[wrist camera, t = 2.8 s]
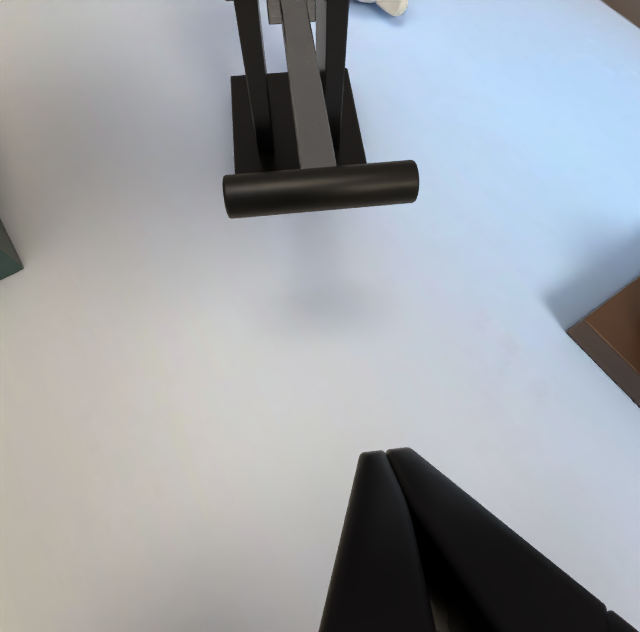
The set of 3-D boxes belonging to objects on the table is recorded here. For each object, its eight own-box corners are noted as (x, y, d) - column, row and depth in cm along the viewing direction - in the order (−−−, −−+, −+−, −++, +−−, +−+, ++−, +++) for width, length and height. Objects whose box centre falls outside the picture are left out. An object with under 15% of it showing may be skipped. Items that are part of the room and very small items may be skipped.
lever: (411, 222, 15) (426, 167, 12) (233, 237, 14) (218, 184, 12) (347, -12, 21) (350, -73, 19) (227, -5, 21) (216, -66, 19)
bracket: (368, 195, 27) (402, -3, 16) (238, 206, 26) (188, 10, 16) (346, 83, 31) (362, -133, 20) (233, 91, 30) (190, -126, 20)
